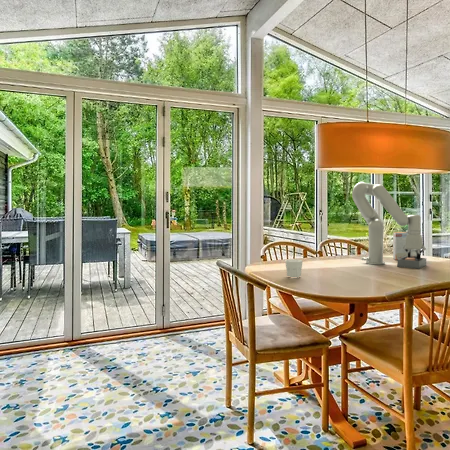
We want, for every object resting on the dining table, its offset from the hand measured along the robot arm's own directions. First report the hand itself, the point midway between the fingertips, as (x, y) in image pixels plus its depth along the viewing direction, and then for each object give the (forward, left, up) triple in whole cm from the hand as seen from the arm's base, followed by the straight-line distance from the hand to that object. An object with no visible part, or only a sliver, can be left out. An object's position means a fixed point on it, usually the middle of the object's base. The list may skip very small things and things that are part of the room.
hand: (414, 258), depth 259 cm
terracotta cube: (-4, -6, -4) cm, 8 cm away
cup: (-80, -55, -5) cm, 97 cm away
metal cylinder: (0, 0, -1) cm, 1 cm away
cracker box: (0, +27, -5) cm, 27 cm away
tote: (-2, -3, -5) cm, 6 cm away
